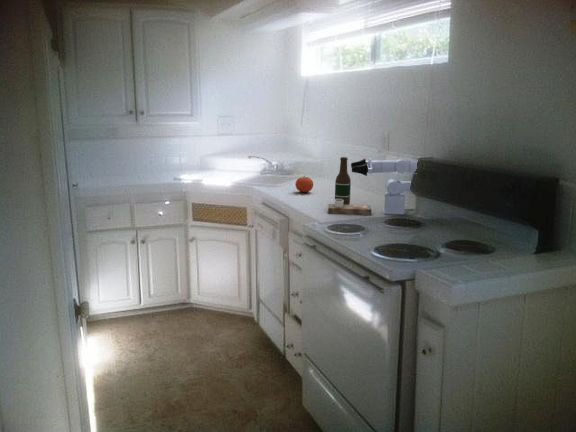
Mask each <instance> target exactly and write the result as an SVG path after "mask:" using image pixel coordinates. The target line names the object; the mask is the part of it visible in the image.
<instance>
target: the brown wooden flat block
mask: <svg viewBox="0 0 576 432" xmlns="http://www.w3.org/2000/svg"><path fill="white" fill-rule="evenodd" d="M327 209H328V210H327V214H338V215H339V214H340V215H363V216H365V215H368V216H369V215H372V211H373V210H372V207H371V205H368V204H366V205H365V204H349V205H344V204H343V207H335V203H334V204H333V203H329V204H328V205H327Z"/></svg>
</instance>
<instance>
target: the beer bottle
mask: <svg viewBox="0 0 576 432" xmlns="http://www.w3.org/2000/svg"><path fill="white" fill-rule="evenodd" d="M339 161H340V164H339V173H338V174H337V176H336V178H335V182H334V183H335V184H334V186H335V187H334V200H335V199H342V200H343V204H344V205H351V202H350V201H351V183H352V182H351V177H350V175H349V172H348V157H346V156H342V157H340V160H339Z"/></svg>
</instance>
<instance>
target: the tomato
mask: <svg viewBox="0 0 576 432" xmlns="http://www.w3.org/2000/svg"><path fill="white" fill-rule="evenodd" d="M313 187H314V182H313V179H311V178H310V177H309V176H308V177H307V176H306V175H304V176H299V177H298V178H297V179H296V181H295V188H296V189H297V191H298V192H300V193H303V192H306V193H309V192H310V191H312V190H313Z"/></svg>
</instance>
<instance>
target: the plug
mask: <svg viewBox="0 0 576 432" xmlns="http://www.w3.org/2000/svg"><path fill="white" fill-rule="evenodd" d="M334 204H335V207H343V200H342V199H335V198H334Z"/></svg>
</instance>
